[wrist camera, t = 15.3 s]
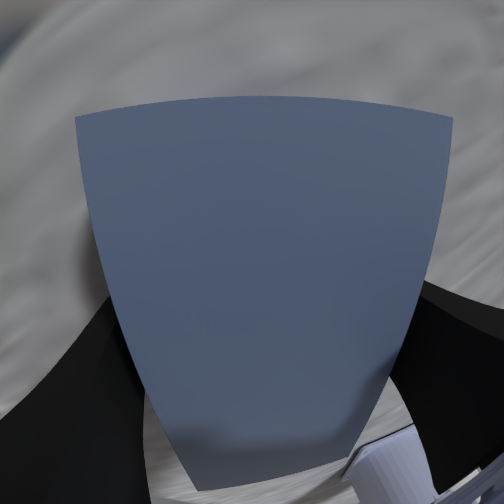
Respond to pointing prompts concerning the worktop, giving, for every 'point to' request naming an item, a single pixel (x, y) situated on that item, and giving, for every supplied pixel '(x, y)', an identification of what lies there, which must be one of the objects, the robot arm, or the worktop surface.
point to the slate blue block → (263, 266)
